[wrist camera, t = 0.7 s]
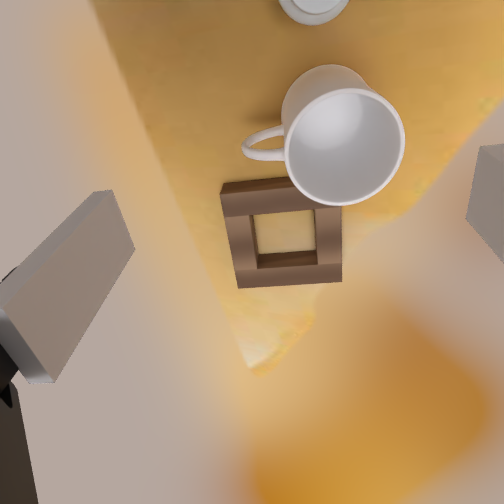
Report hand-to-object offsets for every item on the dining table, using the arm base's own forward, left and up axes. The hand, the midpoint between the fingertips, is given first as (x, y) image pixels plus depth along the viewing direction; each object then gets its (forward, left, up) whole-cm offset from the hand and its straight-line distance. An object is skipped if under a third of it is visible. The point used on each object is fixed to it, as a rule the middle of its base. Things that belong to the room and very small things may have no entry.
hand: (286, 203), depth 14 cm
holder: (+14, -1, -24) cm, 28 cm away
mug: (+2, +2, -25) cm, 25 cm away
